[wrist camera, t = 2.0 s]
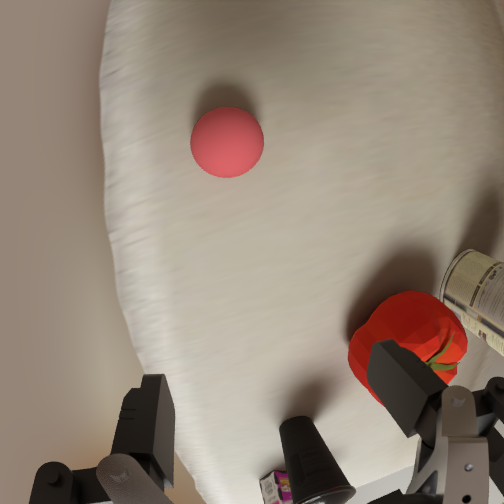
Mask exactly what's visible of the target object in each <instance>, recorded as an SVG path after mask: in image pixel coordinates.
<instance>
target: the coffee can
mask: <svg viewBox="0 0 504 504" xmlns="http://www.w3.org/2000/svg"><path fill="white" fill-rule="evenodd" d="M440 301H441V302H442V303H444V304H445V305H446V306H447V307H448V308H450V309H451V310H452V311H453V312H454V313H455V315H456V316H457V318H458V319H459V320H460V322H461V324H462V325H463V326H464V327H466V328H467V329H468V330H470V331H471V332H472V333H474V334H475V335H476V336H478V337H479V338H480V339H482V340H483V341H484V342H486V343H487V344H488V345H490V346H491V347H492V348H493V349H495V350H496V351H497V352H499V353H500V354H501V355H502V356H504V263H502V262H500V261H498V260H496V259H493V258H491V257H489V256H487V255H484V254H482V253H480V252H478V251H476V250H474V249H468V250H465V251H463V252H461V253H460V254H459V255H458V256H457V257H456V258H455V259H454V261H453V262H452V264H451V265H450V267H449V269H448V271H447V273H446V275H445V277H444V280H443V283H442V287H441V292H440Z"/></svg>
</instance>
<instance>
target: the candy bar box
mask: <svg viewBox="0 0 504 504" xmlns="http://www.w3.org/2000/svg"><path fill="white" fill-rule="evenodd" d="M259 483H260V488H261V492H262V496H263V500H264V504H293V501H292V495H291V490H290V485H289V480H288V474H287V472H279V471H273V472H271V473H270V474H269V475H267V476H266V477H264V478H263V479H262V480H260V481H259Z"/></svg>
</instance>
